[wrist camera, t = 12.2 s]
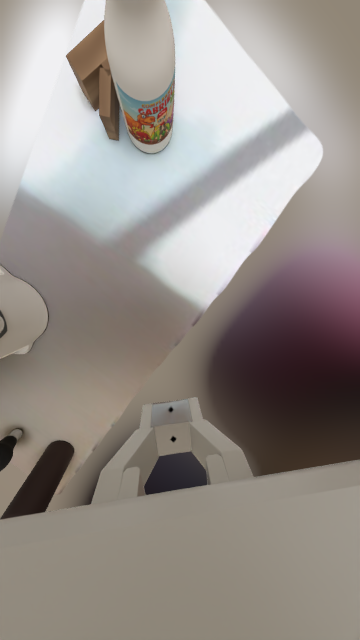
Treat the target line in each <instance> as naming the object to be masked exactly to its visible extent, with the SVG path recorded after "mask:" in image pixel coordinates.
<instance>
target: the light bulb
mask: <svg viewBox="0 0 360 640" xmlns="http://www.w3.org/2000/svg"><path fill="white" fill-rule="evenodd" d="M21 436H22V431H21V430H20V429H15V430H13V431H12V432H11V433H10V434H9V435H8V436H6V437H5V438H3V439H2V440H1V441H0V471H1V470H3V469H4V468H5V467H6V466H7V465H8V463H9V462H10V460H11V459H12V456H13V449H14V447H15V445H16V443H17V441H18V440H19V438H20V437H21Z"/></svg>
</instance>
